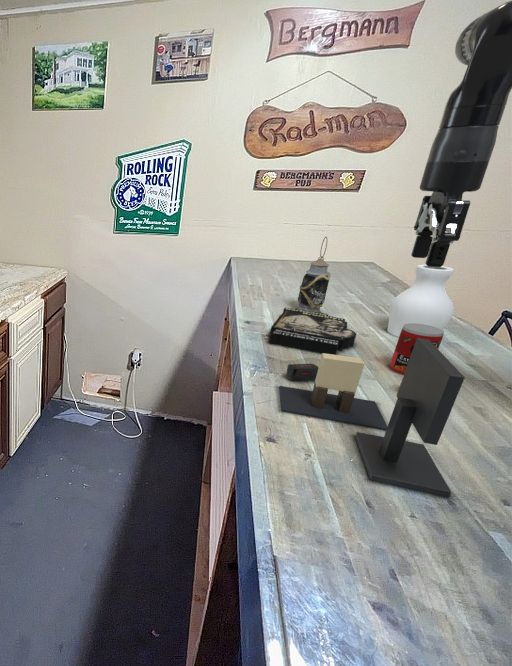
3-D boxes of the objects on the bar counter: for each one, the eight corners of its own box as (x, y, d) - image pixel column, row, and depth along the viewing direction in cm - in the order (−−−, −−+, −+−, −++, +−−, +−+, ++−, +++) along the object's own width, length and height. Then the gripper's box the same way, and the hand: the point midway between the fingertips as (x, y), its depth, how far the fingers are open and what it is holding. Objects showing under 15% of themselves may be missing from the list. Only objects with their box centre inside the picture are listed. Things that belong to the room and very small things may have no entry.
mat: (374, 403, 97) (374, 401, 96) (387, 431, 87) (388, 428, 86) (279, 387, 103) (279, 385, 103) (281, 411, 93) (282, 409, 93)
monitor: (419, 447, 82) (461, 343, 74) (451, 502, 68) (505, 382, 60) (354, 434, 86) (386, 334, 78) (371, 484, 72) (412, 369, 64)
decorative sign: (264, 331, 128) (285, 307, 150) (262, 342, 129) (283, 316, 151) (352, 348, 117) (360, 318, 139) (349, 359, 118) (357, 328, 140)
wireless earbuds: (320, 380, 107) (323, 368, 105) (291, 382, 106) (294, 369, 105) (307, 372, 111) (310, 360, 110) (279, 373, 110) (282, 361, 109)
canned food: (389, 372, 111) (403, 330, 106) (388, 361, 117) (402, 321, 112) (429, 380, 107) (446, 336, 102) (426, 368, 113) (442, 326, 108)
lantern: (323, 315, 152) (343, 239, 142) (296, 313, 154) (314, 237, 145) (318, 308, 159) (337, 235, 149) (292, 306, 162) (309, 234, 152)
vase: (374, 324, 143) (394, 260, 135) (428, 328, 140) (452, 263, 132) (394, 340, 131) (417, 271, 123) (453, 345, 127) (481, 274, 119)
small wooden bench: (346, 404, 95) (361, 356, 91) (350, 413, 92) (365, 365, 87) (309, 397, 98) (322, 351, 94) (311, 406, 94) (324, 359, 90)
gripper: (509, 158, 65) (469, 271, 71) (471, 158, 77) (439, 255, 83) (442, 159, 68) (410, 268, 74) (415, 160, 80) (389, 253, 86)
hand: (425, 261), depth 79 cm, fingers open, 8 cm apart
